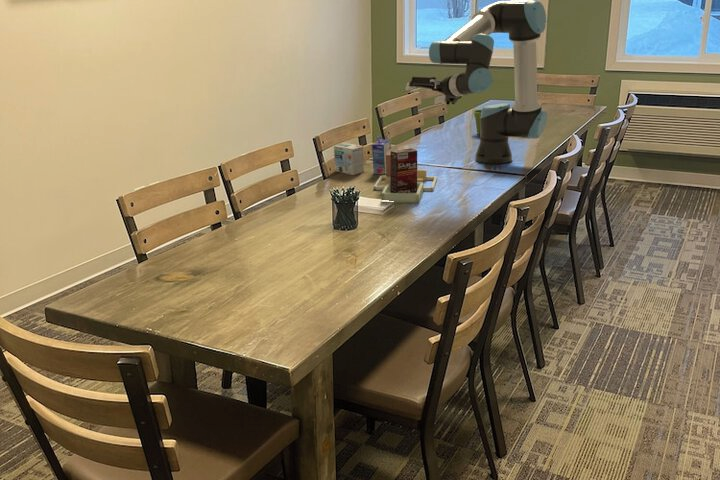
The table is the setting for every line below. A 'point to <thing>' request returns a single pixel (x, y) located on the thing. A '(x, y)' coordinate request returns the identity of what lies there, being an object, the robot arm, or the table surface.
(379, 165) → the ink cartridge box
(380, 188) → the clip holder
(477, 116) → the plant pot
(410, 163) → the supplement box
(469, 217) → the table surface
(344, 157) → the light bulb box
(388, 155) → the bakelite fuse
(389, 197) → the tray
